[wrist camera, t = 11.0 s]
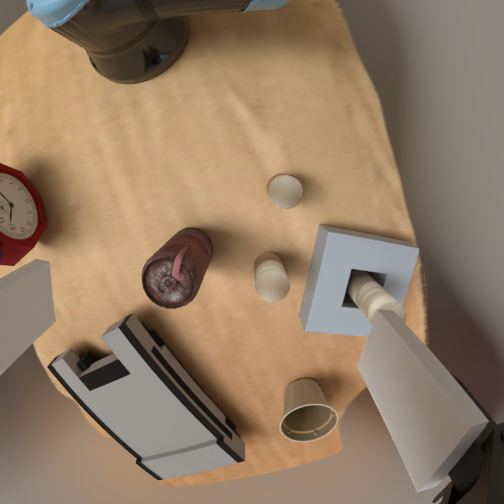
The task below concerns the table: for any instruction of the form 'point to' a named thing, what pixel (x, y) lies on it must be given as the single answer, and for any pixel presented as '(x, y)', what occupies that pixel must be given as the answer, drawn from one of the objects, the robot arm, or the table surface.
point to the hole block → (338, 272)
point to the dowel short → (285, 191)
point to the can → (177, 269)
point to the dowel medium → (270, 277)
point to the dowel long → (371, 296)
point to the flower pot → (306, 412)
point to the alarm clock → (18, 216)
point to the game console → (150, 403)
